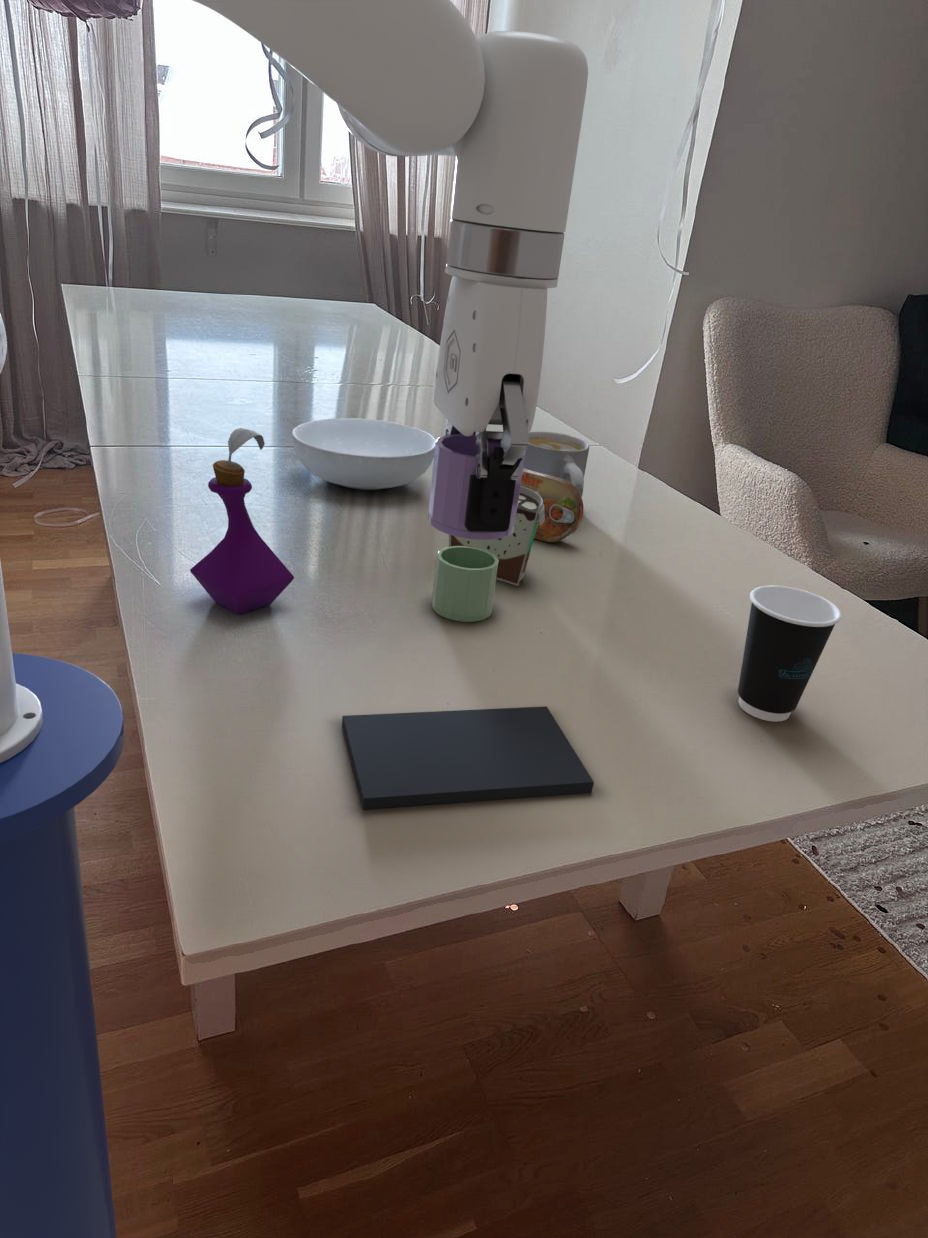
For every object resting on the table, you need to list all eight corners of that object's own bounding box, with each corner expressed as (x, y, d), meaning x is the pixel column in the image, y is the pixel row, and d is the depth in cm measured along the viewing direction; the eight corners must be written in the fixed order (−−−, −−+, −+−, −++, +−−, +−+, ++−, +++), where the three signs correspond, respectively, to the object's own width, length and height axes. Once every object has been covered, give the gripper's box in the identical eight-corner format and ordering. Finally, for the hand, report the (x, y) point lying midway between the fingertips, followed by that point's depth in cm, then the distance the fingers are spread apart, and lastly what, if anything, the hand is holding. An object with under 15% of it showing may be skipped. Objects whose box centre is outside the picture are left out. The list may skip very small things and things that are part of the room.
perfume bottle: (234, 625, 87) (234, 445, 80) (189, 599, 92) (185, 425, 84) (294, 606, 93) (300, 435, 85) (249, 581, 97) (250, 416, 89)
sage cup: (439, 622, 93) (445, 569, 91) (426, 595, 99) (431, 545, 96) (498, 621, 95) (506, 569, 92) (482, 595, 100) (488, 545, 98)
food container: (550, 574, 108) (564, 495, 104) (530, 590, 103) (543, 508, 99) (461, 546, 113) (470, 470, 109) (437, 560, 108) (446, 481, 104)
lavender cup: (439, 539, 64) (448, 458, 61) (419, 508, 69) (427, 431, 67) (525, 540, 65) (537, 461, 63) (499, 509, 71) (509, 435, 68)
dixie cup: (739, 677, 90) (768, 577, 85) (818, 709, 86) (852, 605, 81) (708, 706, 84) (737, 600, 79) (791, 741, 80) (826, 632, 75)
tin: (472, 519, 123) (479, 460, 119) (483, 514, 125) (491, 455, 121) (570, 550, 116) (581, 488, 113) (580, 544, 119) (591, 483, 115)
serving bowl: (385, 455, 146) (388, 413, 143) (460, 496, 131) (465, 450, 128) (266, 465, 134) (267, 419, 131) (334, 511, 119) (336, 461, 116)
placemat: (362, 809, 65) (363, 798, 64) (341, 725, 74) (342, 715, 74) (592, 792, 70) (594, 782, 69) (545, 715, 79) (546, 706, 79)
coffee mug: (503, 495, 134) (512, 429, 129) (565, 497, 136) (576, 433, 132) (526, 527, 122) (537, 456, 118) (594, 529, 125) (607, 460, 120)
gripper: (419, 238, 65) (399, 474, 73) (487, 266, 51) (453, 557, 58) (516, 249, 68) (487, 477, 75) (608, 278, 53) (559, 557, 61)
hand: (472, 510), depth 67 cm, fingers closed on lavender cup, 6 cm apart
